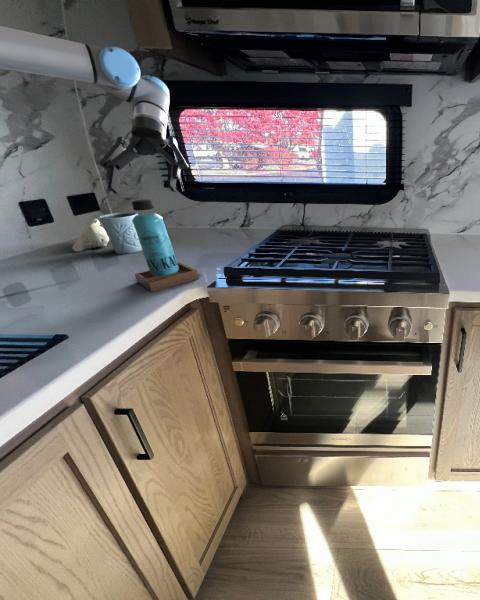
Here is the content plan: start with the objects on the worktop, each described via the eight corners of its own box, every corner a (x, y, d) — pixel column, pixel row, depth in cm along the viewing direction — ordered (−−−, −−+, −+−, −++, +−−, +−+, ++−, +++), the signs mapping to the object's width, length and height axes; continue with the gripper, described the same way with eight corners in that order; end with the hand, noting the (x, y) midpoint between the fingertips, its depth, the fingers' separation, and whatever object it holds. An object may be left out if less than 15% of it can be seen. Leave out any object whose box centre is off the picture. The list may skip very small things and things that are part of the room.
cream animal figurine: (100, 258, 113) (124, 223, 119) (73, 246, 108) (100, 210, 113) (90, 264, 122) (113, 231, 128) (65, 253, 117) (89, 219, 123)
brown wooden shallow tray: (137, 281, 88) (134, 273, 87) (182, 269, 95) (180, 262, 94) (152, 292, 81) (148, 283, 80) (199, 278, 89) (196, 270, 88)
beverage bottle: (151, 276, 89) (122, 200, 80) (179, 270, 92) (155, 196, 84) (154, 284, 84) (124, 203, 75) (184, 277, 88) (158, 199, 79)
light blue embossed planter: (112, 249, 115) (98, 215, 110) (147, 243, 121) (135, 210, 116) (115, 256, 108) (99, 219, 103) (152, 249, 114) (139, 214, 109)
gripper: (203, 136, 98) (200, 196, 91) (109, 137, 94) (98, 200, 87) (192, 114, 91) (188, 177, 84) (89, 114, 87) (75, 181, 80)
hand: (142, 189), depth 85 cm, fingers open, 13 cm apart
